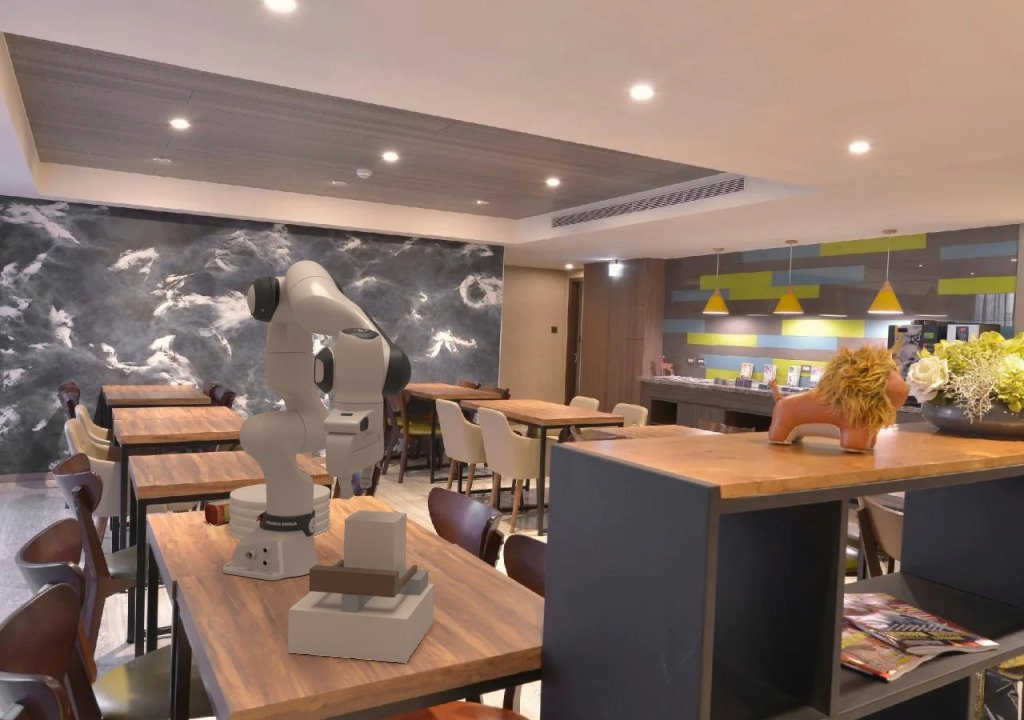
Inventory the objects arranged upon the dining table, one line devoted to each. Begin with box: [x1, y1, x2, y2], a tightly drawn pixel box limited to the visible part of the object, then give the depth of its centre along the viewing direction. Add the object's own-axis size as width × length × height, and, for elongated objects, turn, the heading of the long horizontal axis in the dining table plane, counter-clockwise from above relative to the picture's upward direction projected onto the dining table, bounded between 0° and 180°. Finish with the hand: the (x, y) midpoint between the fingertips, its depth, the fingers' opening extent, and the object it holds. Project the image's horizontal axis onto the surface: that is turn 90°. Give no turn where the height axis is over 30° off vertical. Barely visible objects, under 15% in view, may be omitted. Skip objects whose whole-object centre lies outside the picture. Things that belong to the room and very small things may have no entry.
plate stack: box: [228, 483, 331, 541], centre depth 215 cm, size 28×28×12 cm
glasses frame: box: [308, 559, 418, 598], centre depth 139 cm, size 16×15×4 cm
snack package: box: [204, 499, 231, 526], centre depth 227 cm, size 21×7×7 cm, turn 148°
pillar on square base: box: [287, 509, 435, 663], centre depth 139 cm, size 22×19×22 cm
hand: (356, 492), depth 134 cm, fingers open, 8 cm apart
